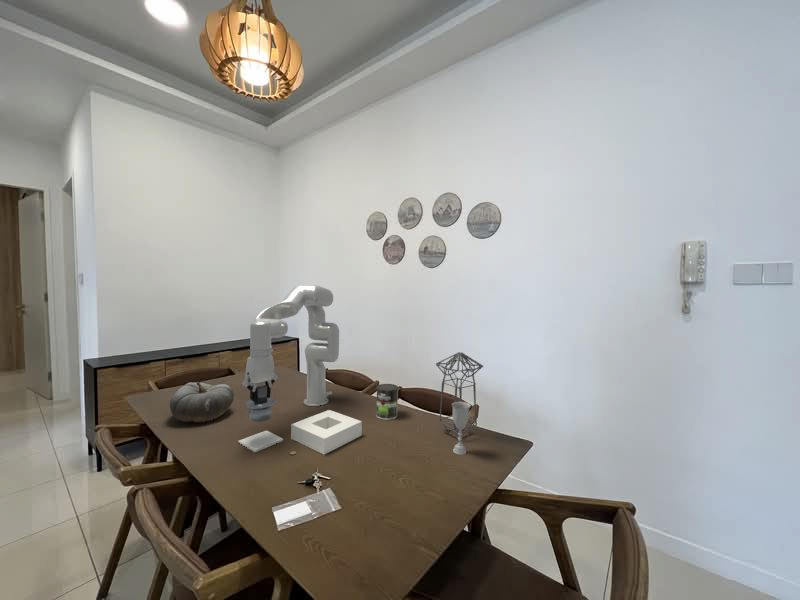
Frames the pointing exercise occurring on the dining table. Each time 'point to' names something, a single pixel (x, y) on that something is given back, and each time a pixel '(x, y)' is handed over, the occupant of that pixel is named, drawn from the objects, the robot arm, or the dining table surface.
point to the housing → (326, 431)
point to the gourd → (201, 402)
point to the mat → (260, 441)
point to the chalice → (460, 422)
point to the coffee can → (387, 401)
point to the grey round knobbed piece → (260, 405)
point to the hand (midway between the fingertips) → (260, 398)
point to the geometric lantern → (459, 356)
